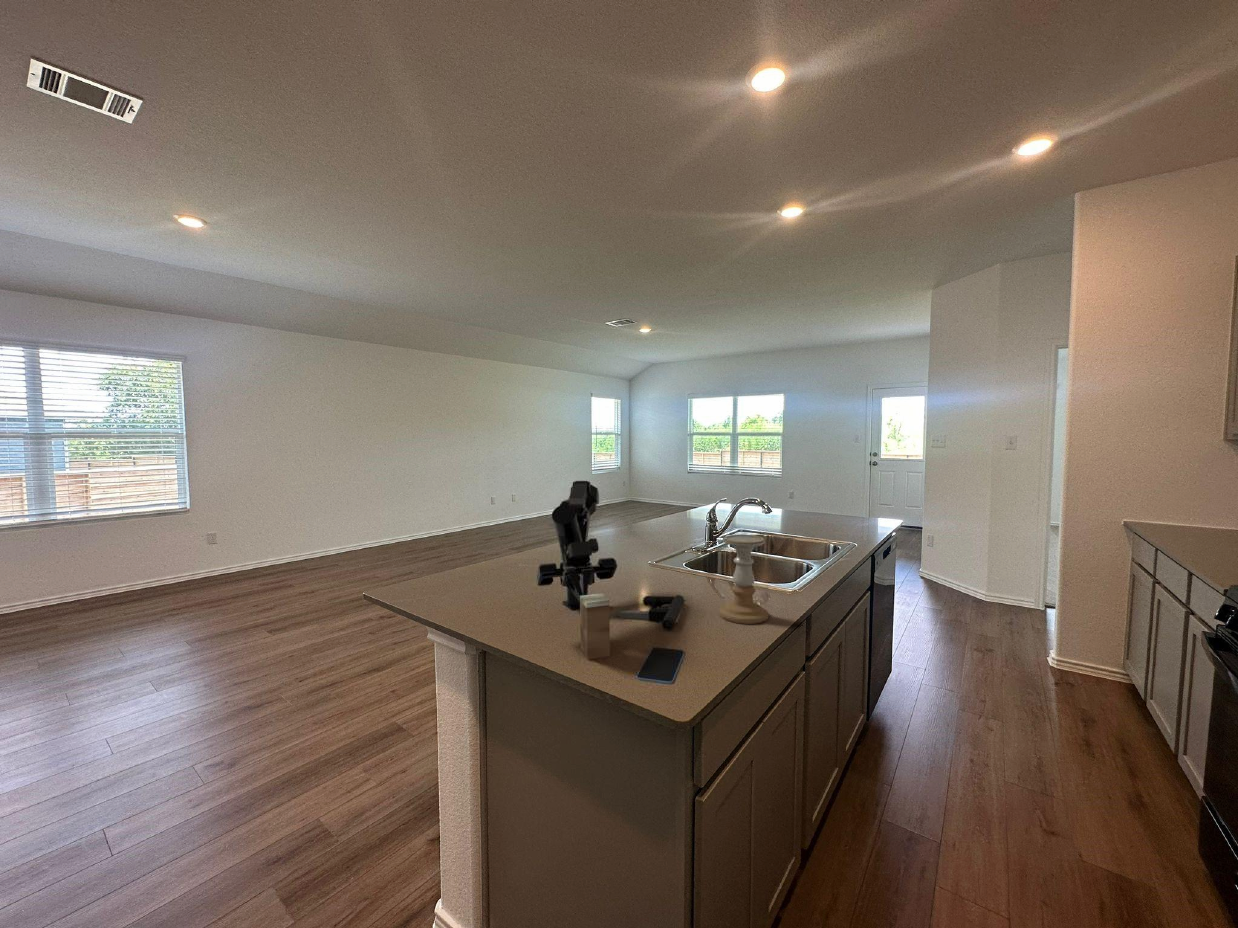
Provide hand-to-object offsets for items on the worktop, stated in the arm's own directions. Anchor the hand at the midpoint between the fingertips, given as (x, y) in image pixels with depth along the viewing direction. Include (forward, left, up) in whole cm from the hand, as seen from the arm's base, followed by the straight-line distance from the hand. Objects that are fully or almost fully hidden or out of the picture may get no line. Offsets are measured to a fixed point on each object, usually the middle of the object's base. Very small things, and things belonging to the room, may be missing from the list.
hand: (584, 603), depth 115 cm
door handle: (-5, +22, -9) cm, 25 cm away
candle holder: (+8, +42, -8) cm, 43 cm away
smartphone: (+20, +8, -9) cm, 23 cm away
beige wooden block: (+8, -1, -8) cm, 11 cm away
